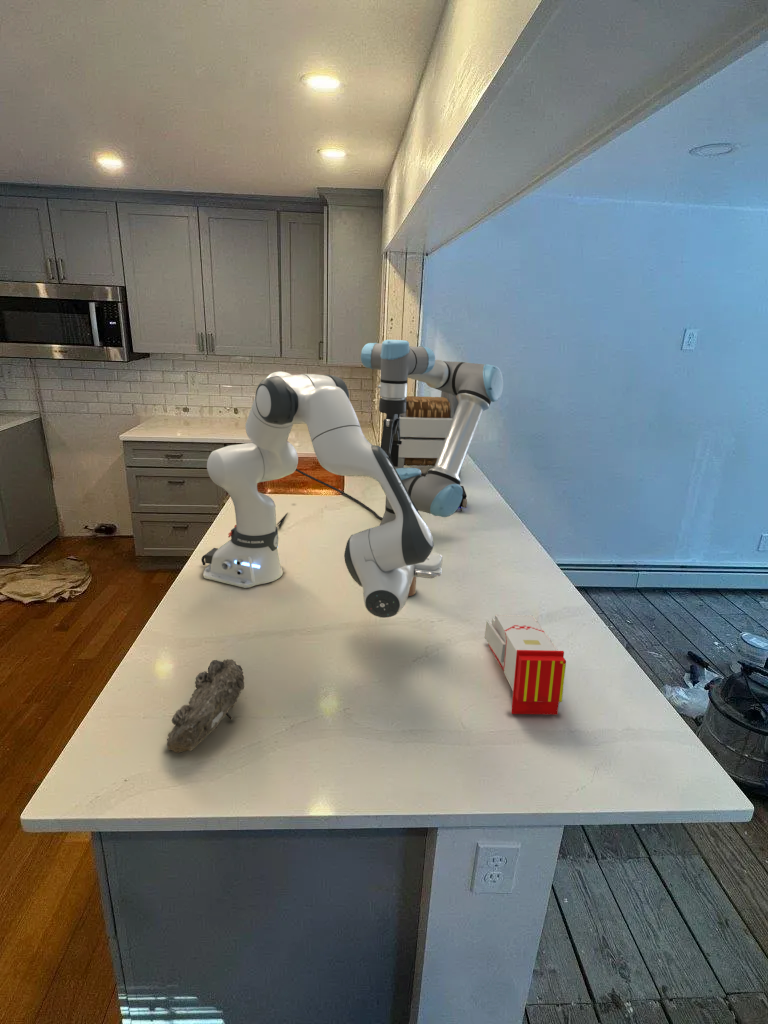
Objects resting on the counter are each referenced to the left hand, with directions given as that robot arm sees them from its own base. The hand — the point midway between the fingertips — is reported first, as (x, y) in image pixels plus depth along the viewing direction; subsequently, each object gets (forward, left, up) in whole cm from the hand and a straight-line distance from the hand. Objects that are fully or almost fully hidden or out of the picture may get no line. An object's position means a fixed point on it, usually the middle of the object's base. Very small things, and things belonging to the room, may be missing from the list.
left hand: (403, 548), depth 141 cm
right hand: (-9, +28, +11) cm, 31 cm away
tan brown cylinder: (0, +13, -19) cm, 23 cm away
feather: (-52, +60, -19) cm, 82 cm away
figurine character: (+10, +90, -19) cm, 93 cm away
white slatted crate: (-11, +136, -19) cm, 138 cm away
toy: (+29, -19, -19) cm, 39 cm away
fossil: (-29, -47, -19) cm, 58 cm away
